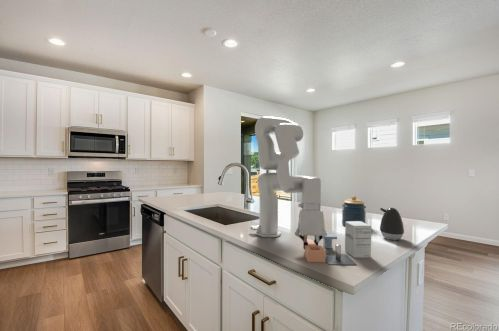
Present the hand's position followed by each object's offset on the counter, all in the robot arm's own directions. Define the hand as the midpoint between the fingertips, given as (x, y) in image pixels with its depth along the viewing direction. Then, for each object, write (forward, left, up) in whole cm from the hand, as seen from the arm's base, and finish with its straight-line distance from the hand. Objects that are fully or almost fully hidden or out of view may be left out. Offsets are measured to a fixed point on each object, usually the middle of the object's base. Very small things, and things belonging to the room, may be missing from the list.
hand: (310, 250), depth 101 cm
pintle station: (+9, -7, -1) cm, 11 cm away
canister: (+35, +45, -1) cm, 56 cm away
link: (0, -3, -1) cm, 3 cm away
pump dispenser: (+44, +21, -1) cm, 48 cm away
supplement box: (+18, -1, -1) cm, 19 cm away
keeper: (+8, +5, 0) cm, 10 cm away
